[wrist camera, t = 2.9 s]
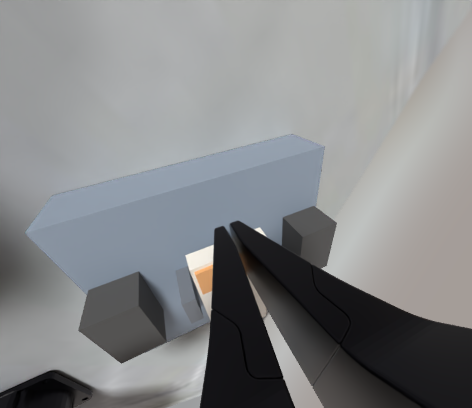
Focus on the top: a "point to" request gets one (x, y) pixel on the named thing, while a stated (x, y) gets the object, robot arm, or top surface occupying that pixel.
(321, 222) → the plug right
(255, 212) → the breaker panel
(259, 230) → the breaker paddle
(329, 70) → the top surface
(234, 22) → the top surface
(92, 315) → the plug left
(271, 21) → the top surface
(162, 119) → the top surface
